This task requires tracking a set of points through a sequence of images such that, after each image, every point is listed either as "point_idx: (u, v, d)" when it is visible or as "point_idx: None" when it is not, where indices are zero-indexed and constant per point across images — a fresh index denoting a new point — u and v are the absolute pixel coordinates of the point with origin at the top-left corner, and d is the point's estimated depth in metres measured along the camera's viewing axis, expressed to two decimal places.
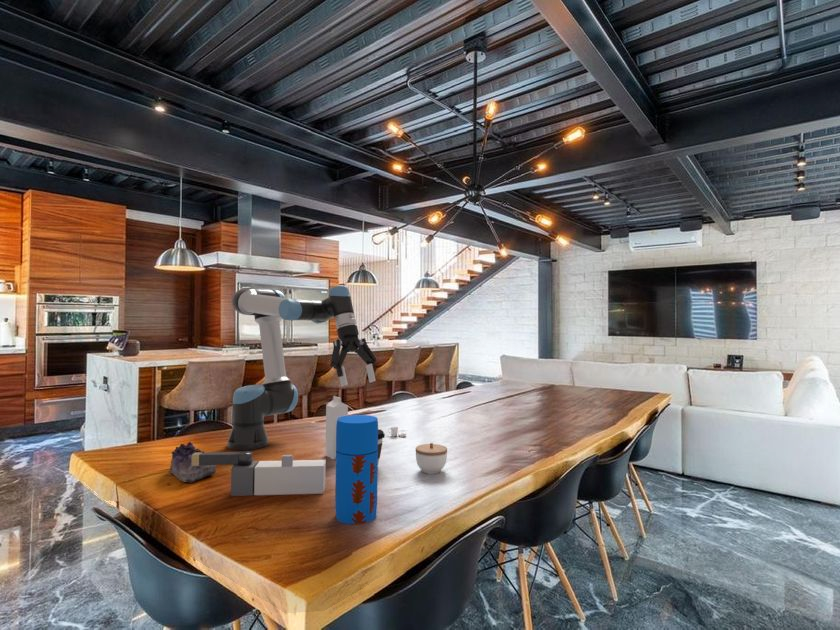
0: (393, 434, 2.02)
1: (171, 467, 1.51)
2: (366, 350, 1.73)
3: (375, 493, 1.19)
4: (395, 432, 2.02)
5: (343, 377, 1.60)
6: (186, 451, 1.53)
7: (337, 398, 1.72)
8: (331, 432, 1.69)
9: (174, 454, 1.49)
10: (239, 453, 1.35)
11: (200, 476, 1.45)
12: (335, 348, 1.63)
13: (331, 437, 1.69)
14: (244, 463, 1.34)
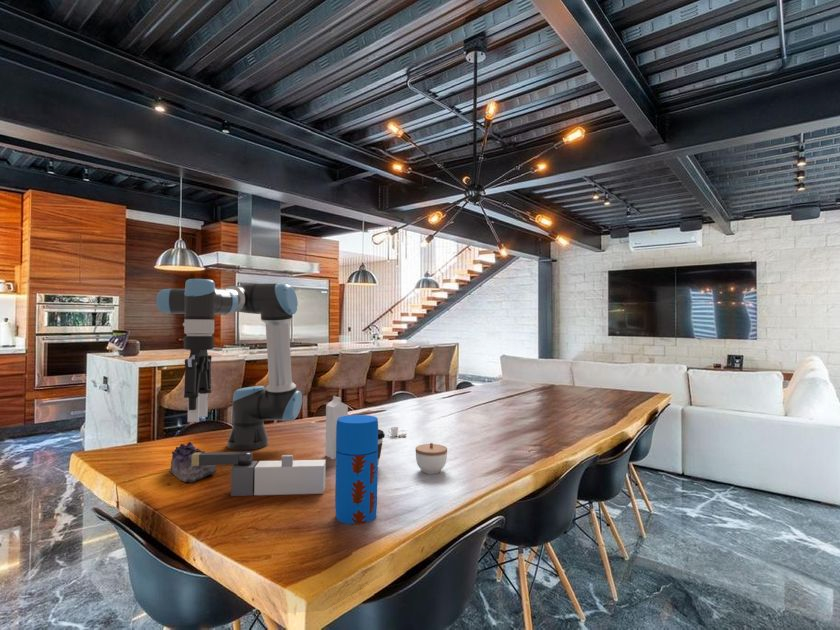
0: (393, 434, 2.02)
1: (171, 467, 1.51)
2: None
3: (375, 493, 1.19)
4: (396, 432, 2.02)
5: None
6: (186, 451, 1.53)
7: (337, 398, 1.72)
8: (331, 432, 1.69)
9: (174, 454, 1.50)
10: (239, 453, 1.35)
11: (200, 476, 1.45)
12: None
13: (331, 437, 1.69)
14: (244, 463, 1.34)
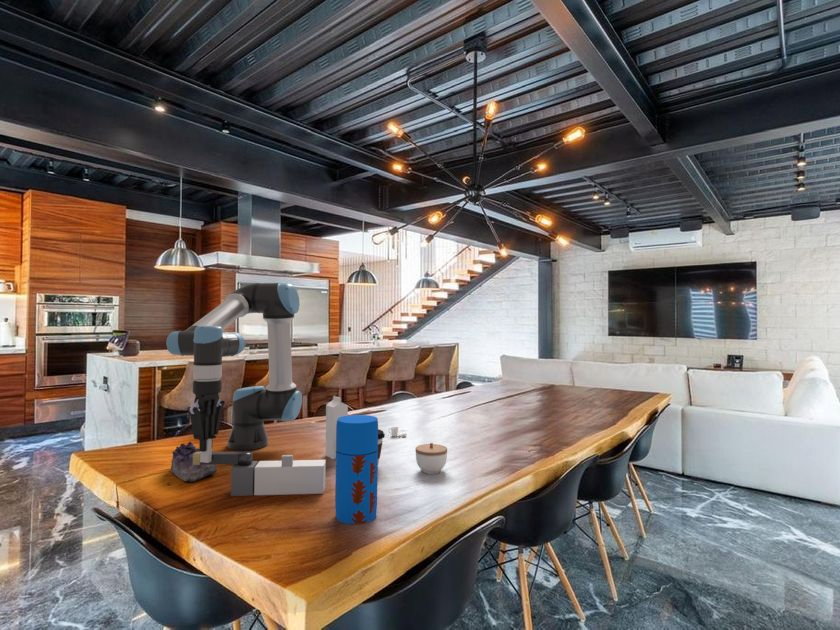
0: (393, 434, 2.02)
1: (172, 467, 1.52)
2: None
3: (375, 493, 1.19)
4: (396, 432, 2.02)
5: None
6: (187, 451, 1.53)
7: (337, 398, 1.72)
8: (331, 432, 1.69)
9: (175, 454, 1.50)
10: (239, 453, 1.36)
11: (201, 475, 1.45)
12: None
13: (331, 437, 1.69)
14: (243, 463, 1.34)
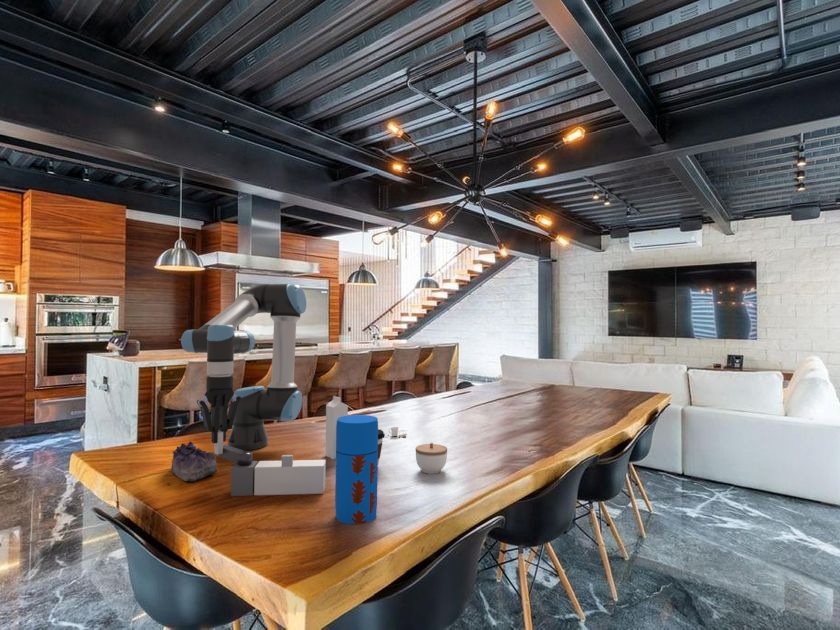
0: (393, 434, 2.02)
1: (172, 467, 1.52)
2: None
3: (375, 493, 1.19)
4: (396, 432, 2.02)
5: None
6: (187, 451, 1.53)
7: (337, 398, 1.72)
8: (331, 432, 1.69)
9: (175, 454, 1.50)
10: (241, 452, 1.37)
11: (201, 475, 1.45)
12: None
13: (331, 437, 1.69)
14: (239, 463, 1.34)
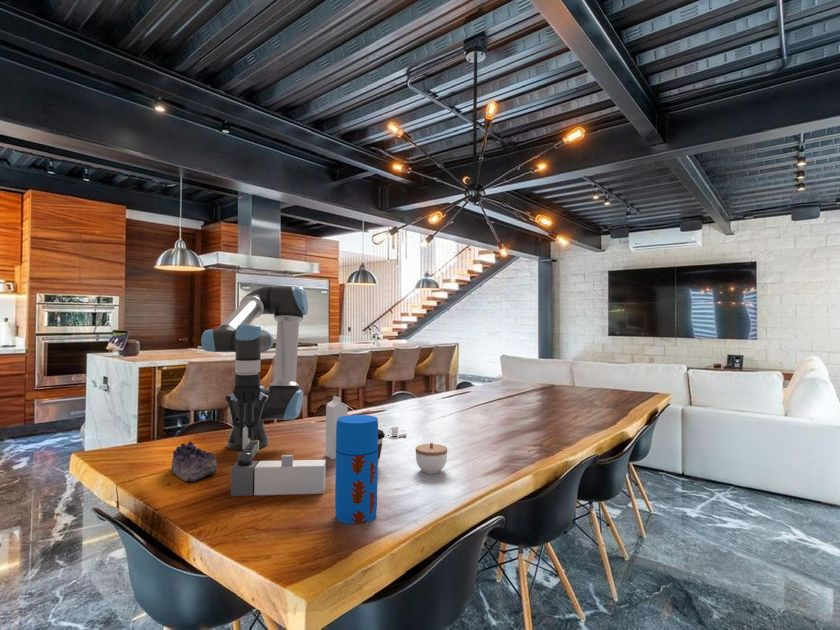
0: (393, 434, 2.01)
1: (172, 466, 1.52)
2: (235, 407, 1.47)
3: (375, 493, 1.19)
4: (396, 432, 2.02)
5: (249, 438, 1.47)
6: (187, 450, 1.53)
7: (337, 398, 1.72)
8: (331, 432, 1.69)
9: (175, 453, 1.50)
10: (245, 451, 1.37)
11: (201, 475, 1.45)
12: (263, 405, 1.47)
13: (331, 437, 1.69)
14: None
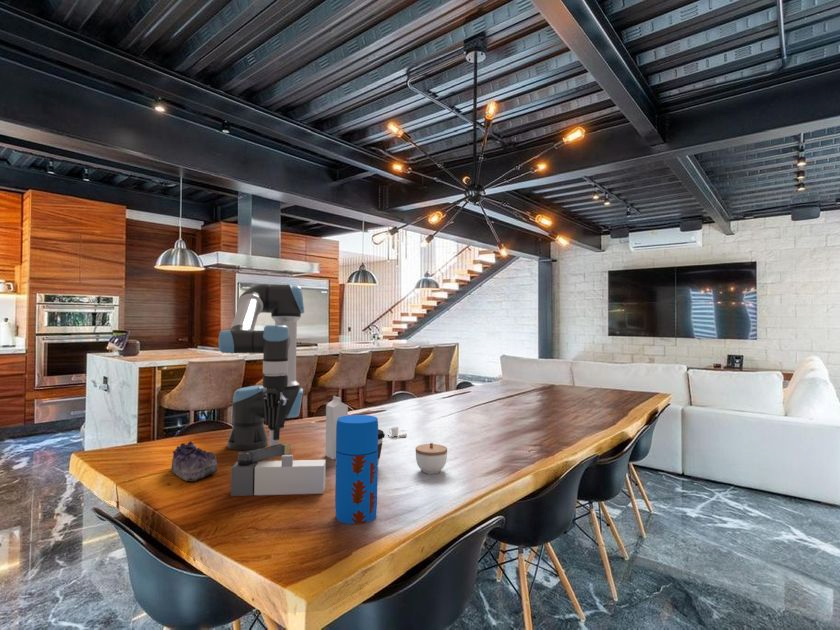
0: (393, 434, 2.01)
1: (172, 466, 1.52)
2: None
3: (375, 493, 1.19)
4: (396, 433, 2.02)
5: (277, 440, 1.45)
6: (187, 450, 1.53)
7: (337, 398, 1.72)
8: (331, 432, 1.69)
9: (175, 453, 1.50)
10: (249, 451, 1.37)
11: (202, 475, 1.46)
12: (283, 409, 1.42)
13: (331, 437, 1.69)
14: None
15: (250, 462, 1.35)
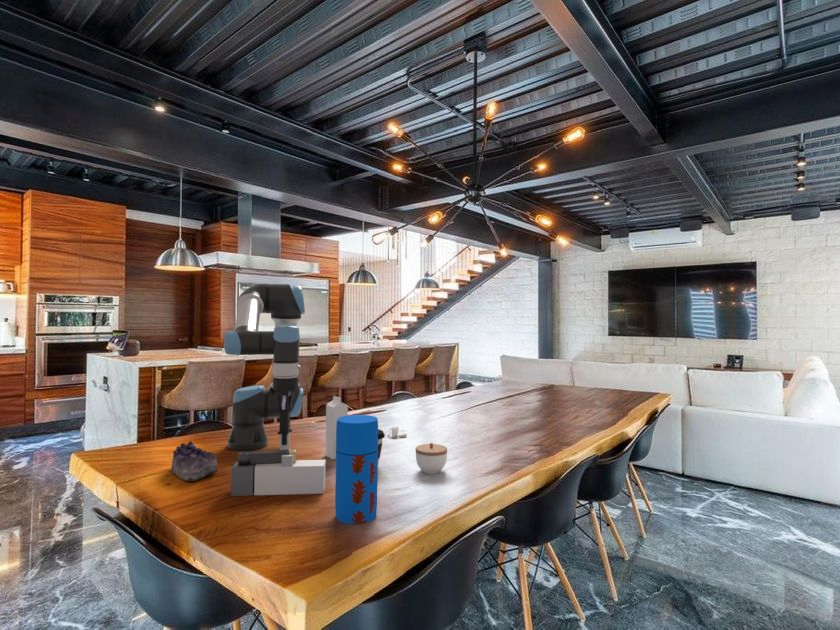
0: (394, 434, 2.01)
1: (172, 466, 1.52)
2: None
3: (375, 493, 1.19)
4: (396, 433, 2.01)
5: (287, 446, 1.40)
6: (187, 450, 1.53)
7: (337, 398, 1.72)
8: (331, 432, 1.69)
9: (175, 453, 1.50)
10: (250, 452, 1.37)
11: (202, 475, 1.46)
12: (283, 413, 1.36)
13: (331, 437, 1.69)
14: None
15: (246, 463, 1.34)
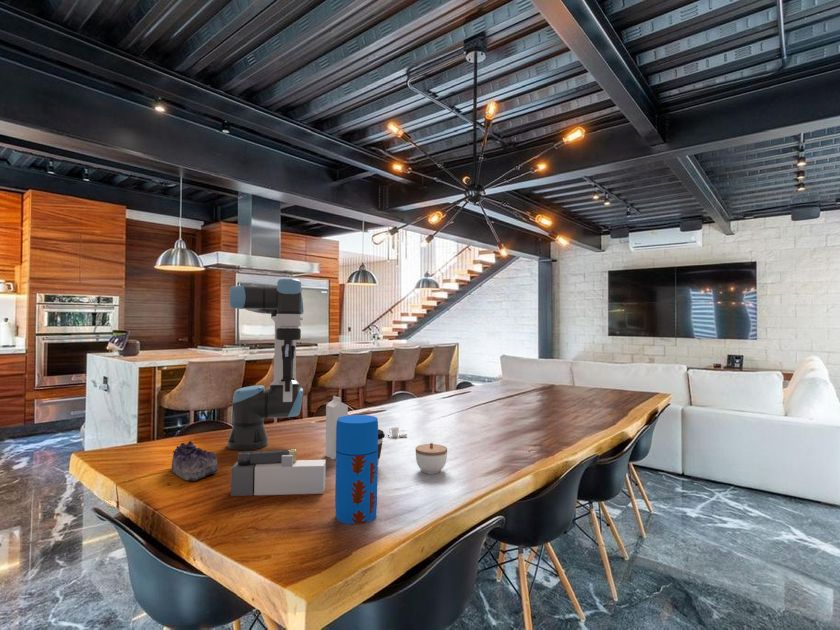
0: (394, 434, 2.01)
1: (172, 466, 1.52)
2: None
3: (375, 493, 1.19)
4: (396, 433, 2.01)
5: (289, 393, 1.47)
6: (187, 450, 1.54)
7: (337, 398, 1.72)
8: (331, 432, 1.69)
9: (176, 453, 1.50)
10: (250, 452, 1.37)
11: (203, 475, 1.46)
12: (287, 360, 1.43)
13: (331, 437, 1.69)
14: None
15: (246, 463, 1.34)
